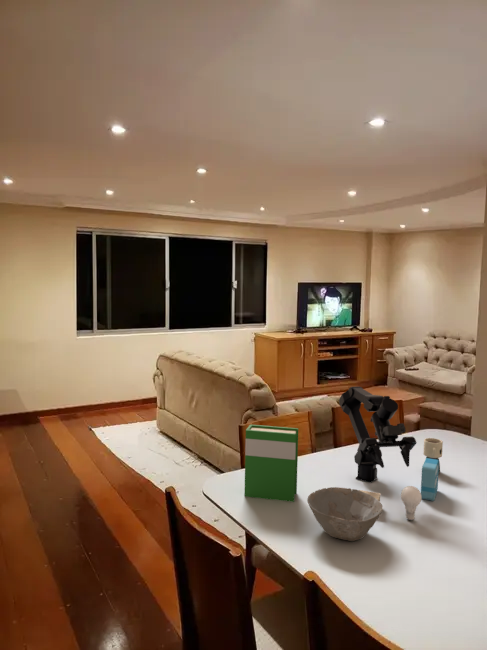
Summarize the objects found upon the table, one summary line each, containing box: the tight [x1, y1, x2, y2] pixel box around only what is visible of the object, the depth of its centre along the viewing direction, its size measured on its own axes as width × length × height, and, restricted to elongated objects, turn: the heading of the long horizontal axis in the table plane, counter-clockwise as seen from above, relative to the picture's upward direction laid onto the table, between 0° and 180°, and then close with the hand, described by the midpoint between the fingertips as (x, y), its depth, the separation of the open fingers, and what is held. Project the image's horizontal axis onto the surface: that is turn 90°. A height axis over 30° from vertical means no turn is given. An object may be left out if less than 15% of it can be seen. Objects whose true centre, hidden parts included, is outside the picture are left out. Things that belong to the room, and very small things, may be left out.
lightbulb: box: [400, 485, 423, 521], centre depth 166 cm, size 6×6×11 cm
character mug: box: [423, 437, 444, 474], centre depth 208 cm, size 11×7×13 cm, turn 165°
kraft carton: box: [358, 489, 381, 503], centre depth 173 cm, size 7×7×5 cm
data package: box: [420, 457, 440, 502], centre depth 186 cm, size 12×4×12 cm, turn 153°
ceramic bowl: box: [306, 486, 384, 542], centre depth 156 cm, size 22×23×10 cm
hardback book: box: [243, 424, 299, 503], centre depth 183 cm, size 18×7×24 cm, turn 77°
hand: (395, 466), depth 176 cm, fingers open, 9 cm apart
